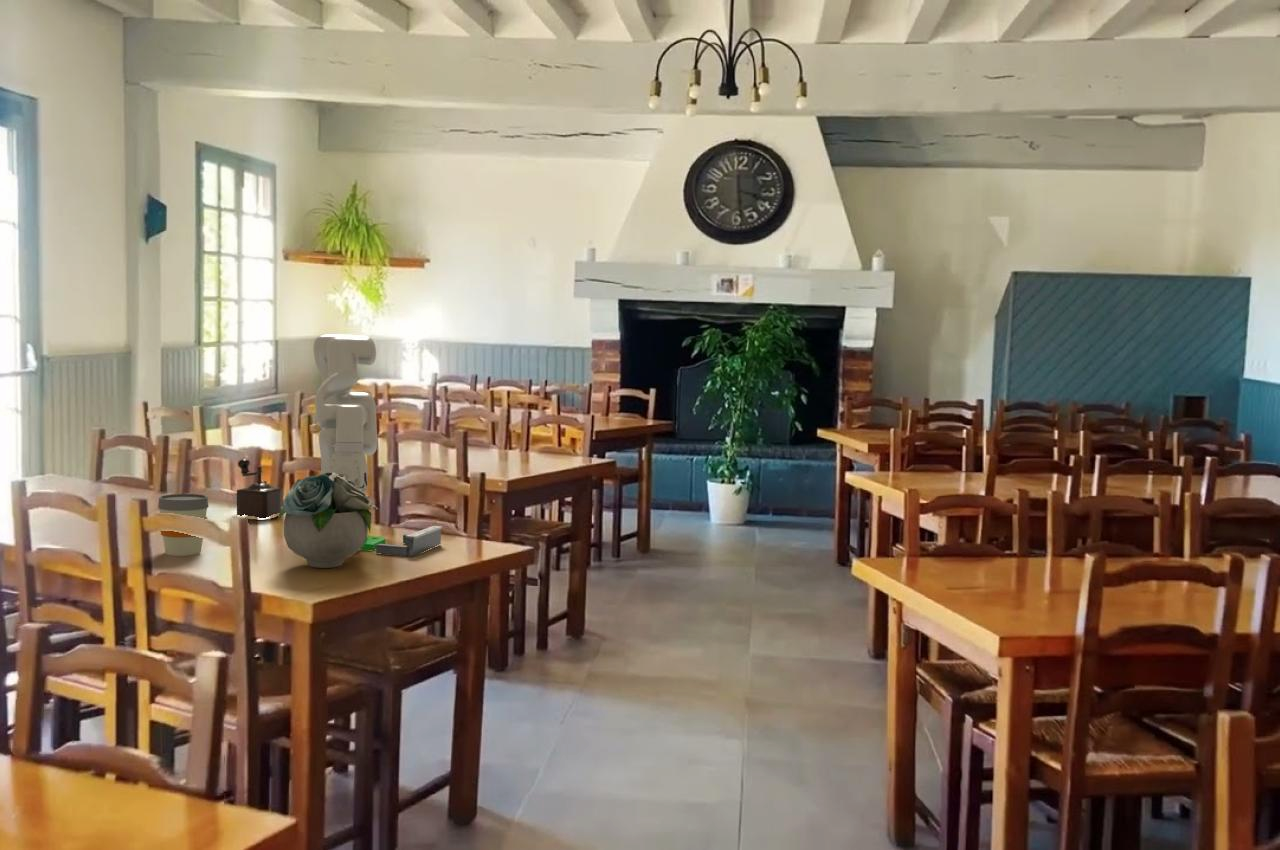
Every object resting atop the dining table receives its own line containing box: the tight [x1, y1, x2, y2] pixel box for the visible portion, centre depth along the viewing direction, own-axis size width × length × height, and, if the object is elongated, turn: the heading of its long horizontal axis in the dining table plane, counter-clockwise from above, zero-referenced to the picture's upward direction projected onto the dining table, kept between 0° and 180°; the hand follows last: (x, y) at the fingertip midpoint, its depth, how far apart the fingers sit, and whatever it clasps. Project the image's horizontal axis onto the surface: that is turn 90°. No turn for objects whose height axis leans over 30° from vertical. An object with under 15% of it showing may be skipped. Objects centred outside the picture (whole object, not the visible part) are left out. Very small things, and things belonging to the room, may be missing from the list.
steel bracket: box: [375, 525, 443, 558], centre depth 327 cm, size 11×19×6 cm, turn 166°
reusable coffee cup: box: [157, 493, 209, 557], centre depth 310 cm, size 13×13×15 cm
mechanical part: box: [360, 535, 386, 551], centre depth 329 cm, size 12×6×8 cm, turn 172°
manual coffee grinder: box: [236, 458, 283, 518], centre depth 371 cm, size 16×11×18 cm
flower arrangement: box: [276, 473, 379, 569], centre depth 300 cm, size 25×25×24 cm
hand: (348, 512), depth 330 cm, fingers closed
